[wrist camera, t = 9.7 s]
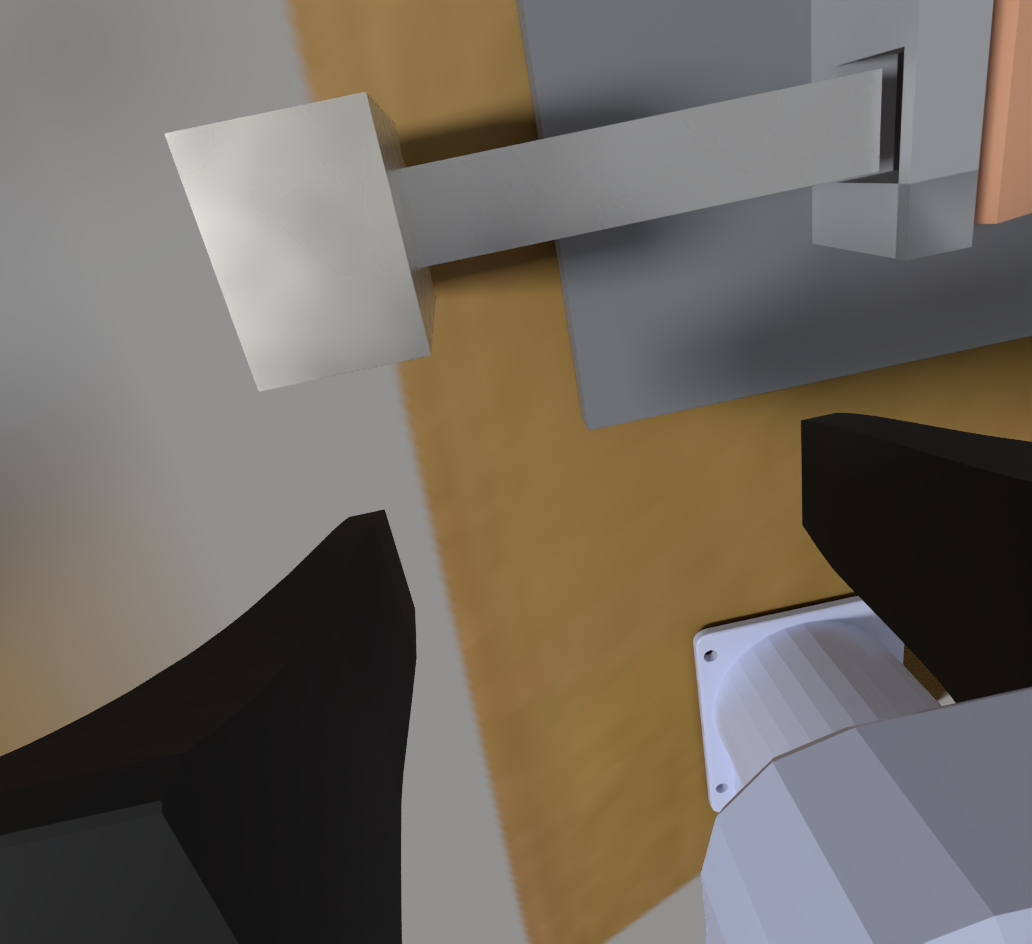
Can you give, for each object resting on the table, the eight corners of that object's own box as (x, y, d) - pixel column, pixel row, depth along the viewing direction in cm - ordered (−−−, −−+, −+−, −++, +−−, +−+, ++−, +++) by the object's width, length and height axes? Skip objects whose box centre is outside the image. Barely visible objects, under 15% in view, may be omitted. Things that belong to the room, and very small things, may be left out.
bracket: (1071, 315, 21) (1248, 354, 17) (582, 419, 21) (621, 489, 17) (1162, -276, 16) (1472, -472, 11) (494, -140, 16) (516, -279, 11)
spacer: (997, 193, 19) (1109, 188, 16) (892, 224, 18) (996, 223, 15) (1020, -31, 17) (1153, -73, 14) (901, -13, 15) (1025, -55, 13)
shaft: (831, 214, 17) (1013, 232, 12) (319, 322, 17) (258, 392, 11) (832, 31, 15) (1044, -50, 10) (265, 149, 15) (164, 133, 10)
